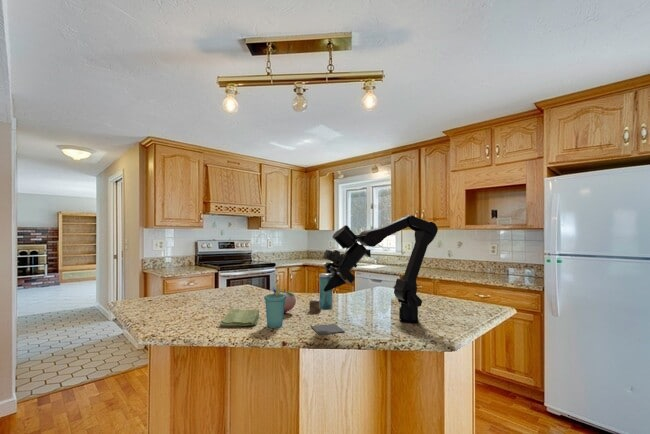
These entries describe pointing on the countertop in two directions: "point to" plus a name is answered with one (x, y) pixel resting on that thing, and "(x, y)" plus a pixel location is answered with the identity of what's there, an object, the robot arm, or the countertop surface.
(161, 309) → the countertop surface
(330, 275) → the tin
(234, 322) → the washcloth
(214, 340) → the countertop surface
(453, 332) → the countertop surface
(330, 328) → the mat
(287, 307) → the decorative fruit
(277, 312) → the cup
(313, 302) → the letter block
